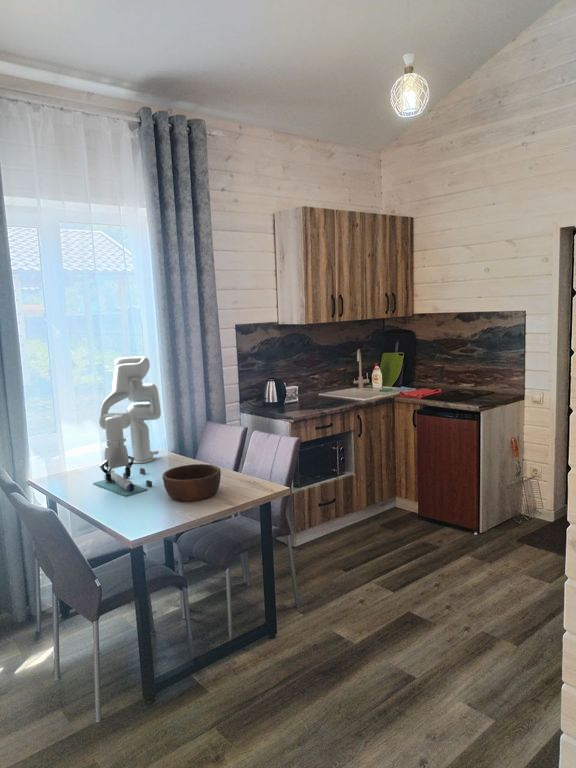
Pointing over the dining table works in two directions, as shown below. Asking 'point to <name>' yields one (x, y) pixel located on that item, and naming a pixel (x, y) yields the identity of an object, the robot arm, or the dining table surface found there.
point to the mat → (119, 488)
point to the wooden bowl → (192, 482)
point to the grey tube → (120, 481)
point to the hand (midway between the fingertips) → (118, 478)
